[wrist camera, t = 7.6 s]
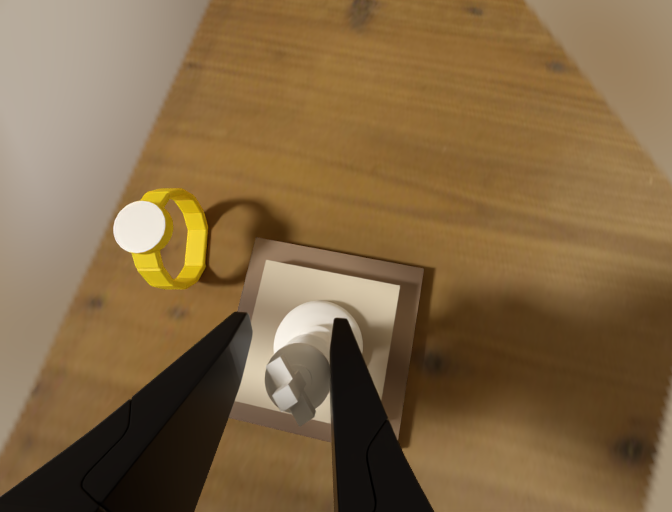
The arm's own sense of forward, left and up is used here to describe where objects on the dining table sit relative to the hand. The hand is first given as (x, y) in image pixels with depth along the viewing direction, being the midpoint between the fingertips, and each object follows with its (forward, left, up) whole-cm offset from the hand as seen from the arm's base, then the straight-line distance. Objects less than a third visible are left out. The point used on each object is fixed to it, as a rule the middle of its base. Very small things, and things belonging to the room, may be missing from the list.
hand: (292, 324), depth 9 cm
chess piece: (-1, 0, -8) cm, 8 cm away
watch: (+3, +10, -11) cm, 15 cm away
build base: (-1, 0, -10) cm, 11 cm away
